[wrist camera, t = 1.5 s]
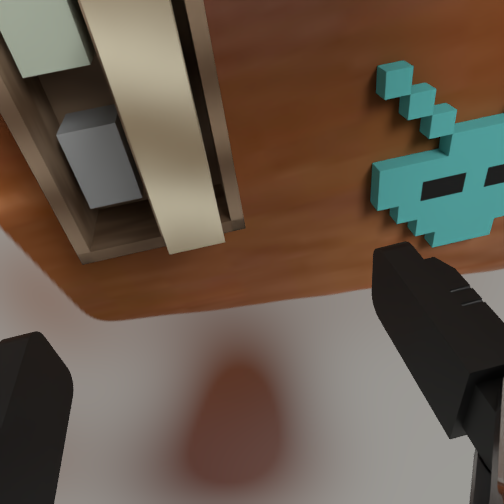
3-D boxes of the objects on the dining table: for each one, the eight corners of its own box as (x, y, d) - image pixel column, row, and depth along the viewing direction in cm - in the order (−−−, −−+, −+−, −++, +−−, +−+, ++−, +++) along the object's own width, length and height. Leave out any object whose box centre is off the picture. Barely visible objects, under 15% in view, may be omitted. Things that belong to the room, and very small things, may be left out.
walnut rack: (-79, -149, 22) (-154, -172, 17) (160, -189, 23) (161, -223, 17) (93, 215, 37) (82, 264, 32) (232, 185, 38) (245, 228, 33)
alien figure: (375, 64, 34) (366, 248, 47) (386, 71, 32) (374, 261, 45) (600, 17, 35) (531, 210, 48) (623, 22, 33) (545, 221, 46)
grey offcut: (66, 113, 31) (55, 135, 28) (119, 103, 31) (115, 122, 28) (96, 183, 35) (90, 208, 31) (143, 173, 35) (142, 197, 32)
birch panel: (112, -41, 26) (76, -11, 14) (159, -49, 26) (162, -27, 14) (164, 139, 33) (169, 254, 22) (201, 131, 33) (225, 242, 22)
